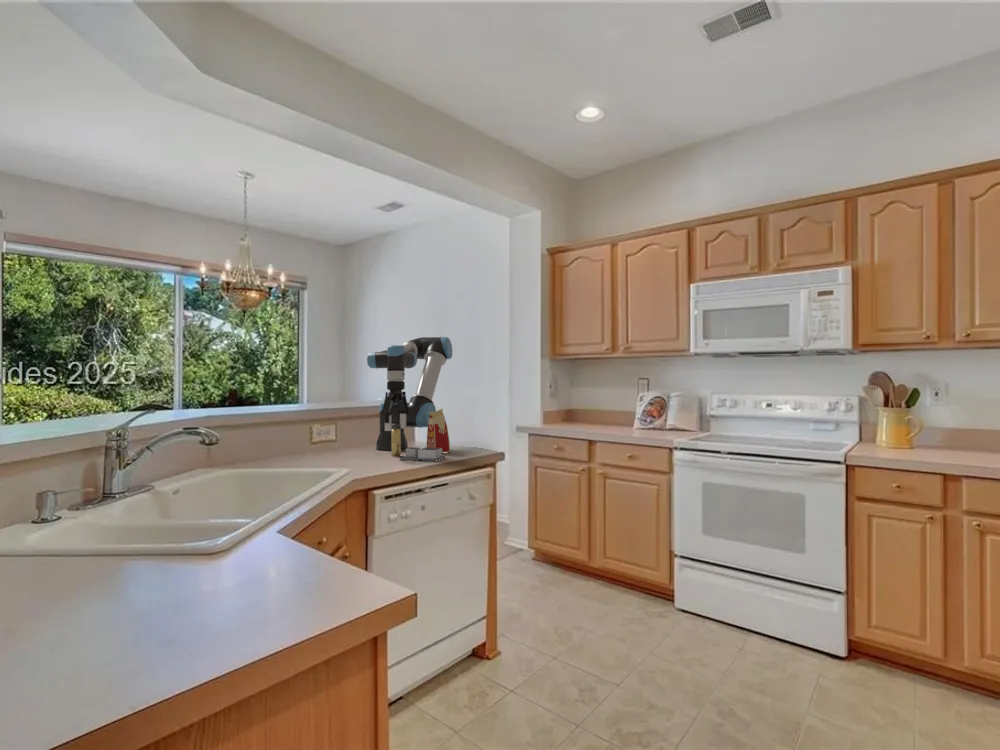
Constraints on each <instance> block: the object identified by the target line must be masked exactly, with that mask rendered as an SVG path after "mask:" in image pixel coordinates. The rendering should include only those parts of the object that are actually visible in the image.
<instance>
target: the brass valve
mask: <svg viewBox="0 0 1000 750" xmlns="http://www.w3.org/2000/svg"><path fill="white" fill-rule="evenodd" d="M391 446H392V450H391V457H392V456H400V455H401V454H402V449H401V424H391ZM401 456H402V455H401ZM401 456H400V457H401Z"/></svg>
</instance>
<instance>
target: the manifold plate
mask: <svg viewBox="0 0 1000 750" xmlns="http://www.w3.org/2000/svg"><path fill="white" fill-rule="evenodd" d="M444 457H445V458H446V455H443V454H442V448H430V447H427V446H425V447H423V448H421V447H416V446H415V447H413V446H412V447H408V448H406V449H405V455H404V456H402V457H401V456H400V457H399V461H403V460H422V461H421V462H426V461H436V460H439V459H441V458H444ZM445 458H444V459H445ZM439 461H440V460H439Z"/></svg>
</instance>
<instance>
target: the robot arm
mask: <svg viewBox="0 0 1000 750" xmlns="http://www.w3.org/2000/svg"><path fill="white" fill-rule="evenodd" d="M452 357H453V345H452V342H451V339H450V338H449V337H447V336H440V337H439V336H436V337H434V336H432V337H430V336H429V337H417V338H413V339H411V340H407V341H405V342H404V343H402V345H398V344H397V345H396V344H395V345H393V344H392V345H388V346H387V349H385V350H381V351H373V352H369V353H368V354H367V357H366V361H367V362H366V363H367V366H368V367H369V368H371V369H376V370H377V369H387V370H386V380H387V382H386V389H387V390H388V391H385V396H384V397H385V398H384V401H383V402H381V403H380V404H379V411H378V412H379V434H378V438H377V441H376V443H375V449H376V450H378V449H381V450H380V451H392V446H391V424H401V450H406V449H405V448H409V444H408V443H409V442H408V440H407V437H406V433H405V429H407V428H428V422H429V416H430V414H429V413H430V412H435V411H437V409H436V405H435V403H434V401H433V398H434V393H435V391H436V387H437V383H438V381H439V380H438V379H439V376H440V372H441V370H442V366H444V365H445V364H446V363H447V360H451V359H452ZM418 360H424V361H425V362H424V365H423V368H422V370H421V371H422V372H421V375H420V378H419V381H418V384H417V386H416V391H415V393H414V395H412V396H411V397H410V399H409V402H408V401H407V396H406V391H403V390H405V388H406V387H405V376H406V372H405V369H412V368H415V367H416V365H417V363H418Z"/></svg>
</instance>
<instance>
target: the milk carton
mask: <svg viewBox="0 0 1000 750" xmlns="http://www.w3.org/2000/svg"><path fill="white" fill-rule="evenodd" d="M429 414H430V416H429V422H428V427H427V429H426V430H427V432H426V434H427V435H426V447H430V448H442V453H443V452H450V453H451V444H450V436H449V429H448V424H447V421H446V418H445V415H444V412H443V408H440V409H438V410H436V411H435V412H430V413H429ZM443 454H444V453H443Z"/></svg>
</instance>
